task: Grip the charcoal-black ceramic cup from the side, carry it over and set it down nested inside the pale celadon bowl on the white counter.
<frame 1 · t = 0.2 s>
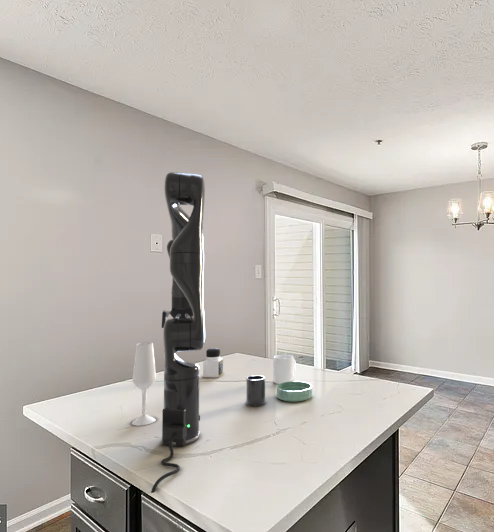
hand: (182, 338, 139), 22 cm above the counter, tool pointing down, fingers open, 8 cm apart
medicine bottle: (213, 375, 171), on the counter
cup: (255, 403, 133), on the counter
mug: (286, 381, 162), on the counter
champagne flute: (144, 421, 117), on the counter
bowl: (294, 396, 141), on the counter
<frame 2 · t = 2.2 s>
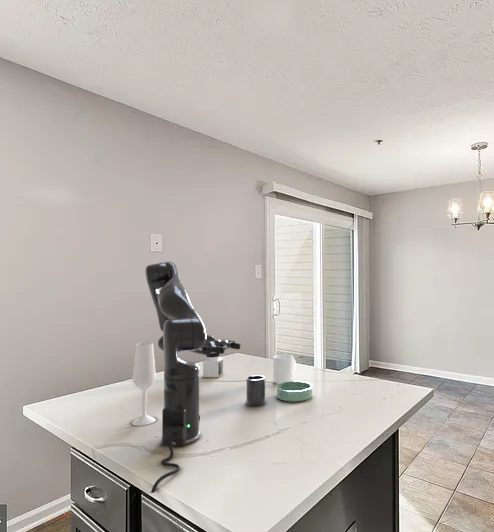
hand: (232, 348, 139), 18 cm above the counter, tool horizontal, fingers open, 8 cm apart
nothing on the counter moved.
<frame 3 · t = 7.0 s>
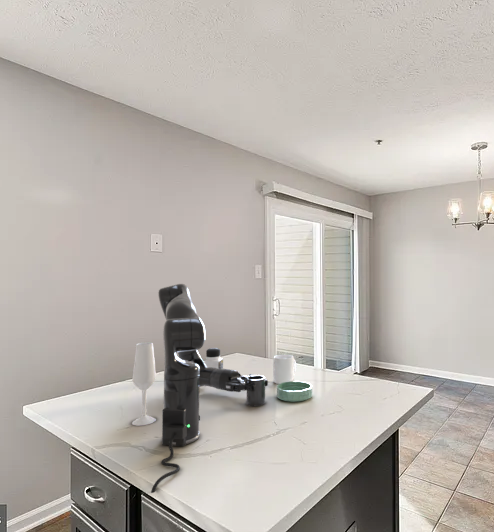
hand: (261, 385, 133), 7 cm above the counter, tool horizontal, fingers closed on cup, 6 cm apart
cup: (255, 403, 134), on the counter, touching gripper
everything else where it was.
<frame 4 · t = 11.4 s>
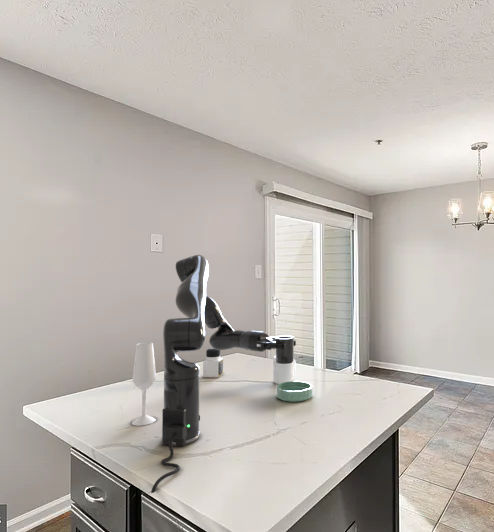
hand: (290, 344, 138), 20 cm above the counter, tool horizontal, fingers closed on cup, 6 cm apart
cup: (284, 361, 139), point 13 cm above the counter, touching gripper
everything else where it was.
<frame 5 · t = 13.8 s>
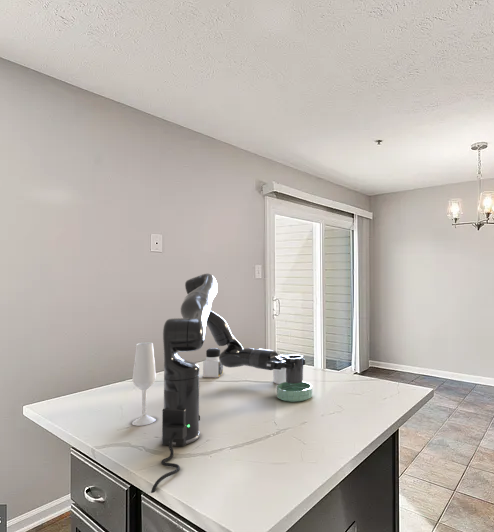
hand: (299, 364, 140), 12 cm above the counter, tool horizontal, fingers closed on cup, 6 cm apart
cup: (294, 380, 141), point 6 cm above the counter, touching gripper
everything else where it was.
when the fingers open (7 cm above the counter, at t = 15.9 s): cup stays where it is, resting on bowl.
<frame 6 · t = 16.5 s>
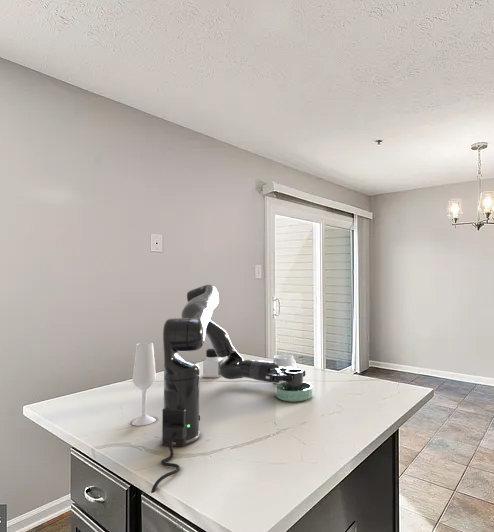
hand: (298, 376, 140), 8 cm above the counter, tool horizontal, fingers open, 8 cm apart
cup: (294, 395, 141), point 1 cm above the counter, touching bowl
everything else where it was.
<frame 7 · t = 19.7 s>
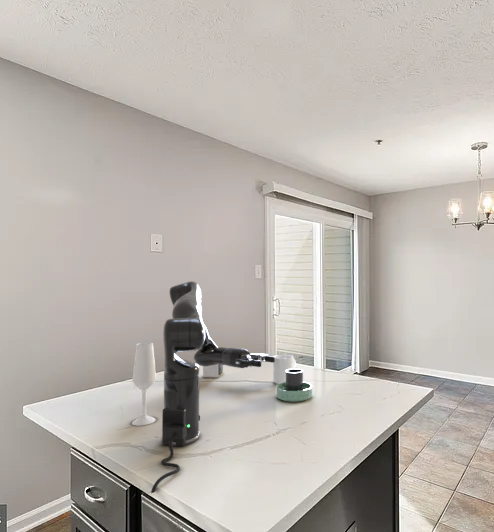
hand: (267, 361, 146), 12 cm above the counter, tool horizontal, fingers open, 8 cm apart
nothing on the counter moved.
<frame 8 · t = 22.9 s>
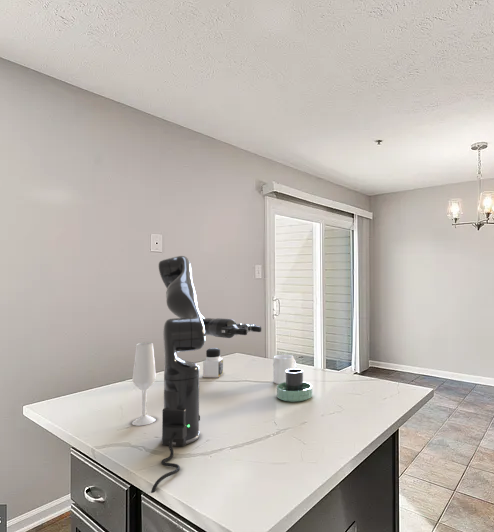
hand: (253, 330, 145), 24 cm above the counter, tool horizontal, fingers open, 8 cm apart
nothing on the counter moved.
at the end: cup 0.1 cm off-centre in the bowl, point 0.6 cm above the bowl's base; cup tilted 0°; the gripper is holding nothing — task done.
